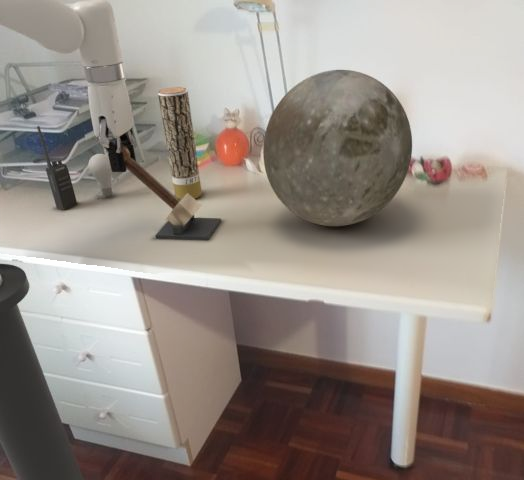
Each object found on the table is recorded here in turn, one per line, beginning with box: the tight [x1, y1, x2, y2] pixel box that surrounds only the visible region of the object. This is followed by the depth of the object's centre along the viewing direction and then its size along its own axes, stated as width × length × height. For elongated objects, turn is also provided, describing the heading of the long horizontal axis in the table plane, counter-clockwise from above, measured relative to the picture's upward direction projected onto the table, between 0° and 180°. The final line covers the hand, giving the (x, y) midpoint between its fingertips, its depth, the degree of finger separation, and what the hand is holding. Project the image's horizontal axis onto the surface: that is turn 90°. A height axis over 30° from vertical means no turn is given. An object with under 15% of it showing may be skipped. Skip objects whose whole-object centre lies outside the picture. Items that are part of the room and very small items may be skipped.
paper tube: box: [157, 86, 203, 201], centre depth 137 cm, size 7×7×25 cm
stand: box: [155, 214, 222, 241], centre depth 126 cm, size 12×10×2 cm
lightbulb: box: [88, 153, 114, 198], centre depth 145 cm, size 6×6×11 cm
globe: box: [262, 69, 413, 227], centre depth 116 cm, size 30×30×30 cm
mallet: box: [120, 144, 202, 227], centre depth 122 cm, size 22×6×5 cm
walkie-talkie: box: [36, 125, 78, 211], centre depth 139 cm, size 5×3×20 cm
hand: (124, 166), depth 121 cm, fingers closed on mallet, 4 cm apart
